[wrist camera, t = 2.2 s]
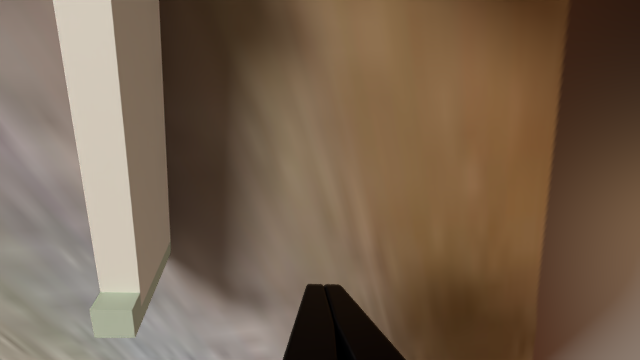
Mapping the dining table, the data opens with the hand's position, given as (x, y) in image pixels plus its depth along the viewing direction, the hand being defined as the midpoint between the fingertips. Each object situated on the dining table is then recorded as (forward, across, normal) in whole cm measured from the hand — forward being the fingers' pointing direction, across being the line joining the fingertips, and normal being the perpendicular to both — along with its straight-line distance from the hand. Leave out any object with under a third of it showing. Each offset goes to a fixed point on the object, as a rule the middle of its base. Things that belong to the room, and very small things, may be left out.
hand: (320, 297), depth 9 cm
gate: (+11, +7, -1) cm, 13 cm away
